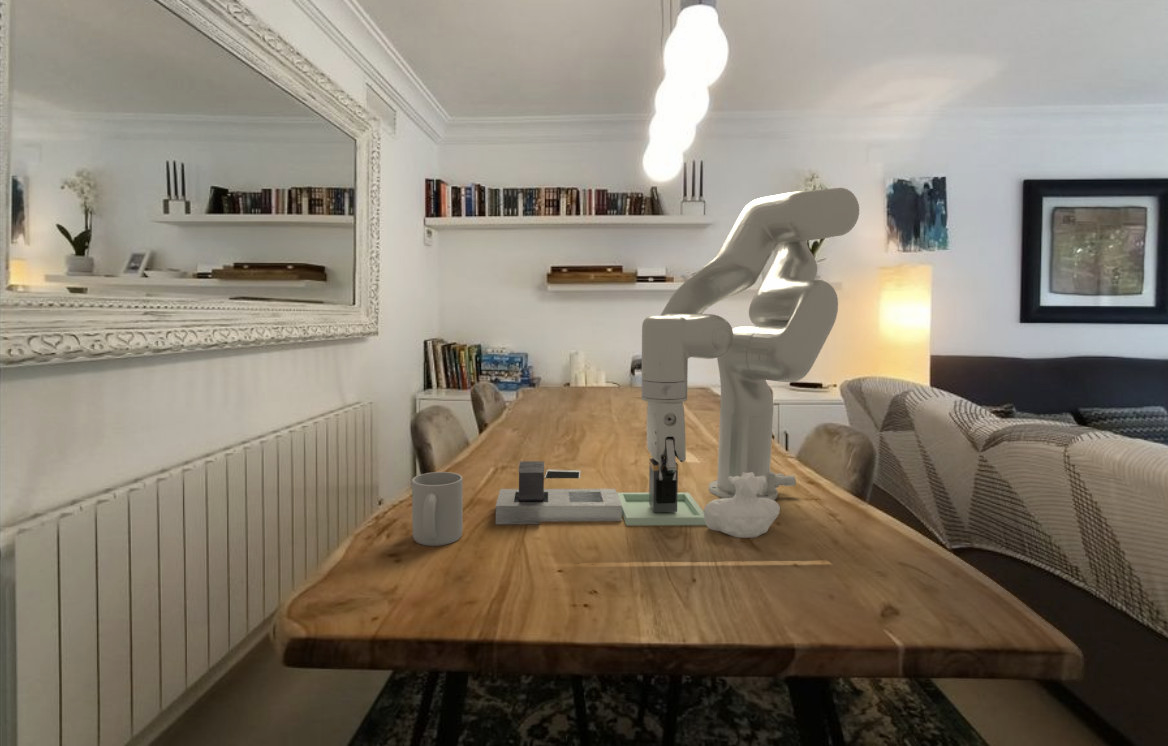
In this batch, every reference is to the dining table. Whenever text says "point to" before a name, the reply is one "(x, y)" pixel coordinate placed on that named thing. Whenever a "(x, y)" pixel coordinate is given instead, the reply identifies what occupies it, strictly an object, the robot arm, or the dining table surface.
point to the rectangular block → (652, 489)
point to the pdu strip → (553, 501)
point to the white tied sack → (742, 509)
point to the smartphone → (562, 474)
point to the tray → (642, 514)
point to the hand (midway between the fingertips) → (663, 496)
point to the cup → (437, 508)
